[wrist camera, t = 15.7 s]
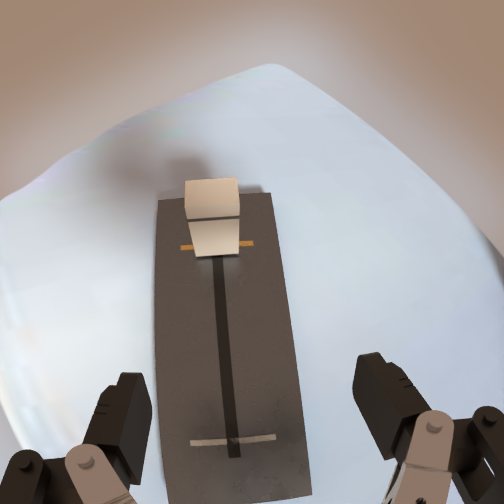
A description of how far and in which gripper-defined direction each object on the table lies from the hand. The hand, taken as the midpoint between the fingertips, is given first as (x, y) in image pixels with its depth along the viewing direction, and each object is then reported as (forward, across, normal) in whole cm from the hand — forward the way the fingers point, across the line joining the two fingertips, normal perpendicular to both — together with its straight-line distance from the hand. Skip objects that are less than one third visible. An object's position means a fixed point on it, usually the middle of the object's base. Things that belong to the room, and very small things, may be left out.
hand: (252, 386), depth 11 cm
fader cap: (+21, +1, +1) cm, 21 cm away
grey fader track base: (+16, +1, +9) cm, 18 cm away
